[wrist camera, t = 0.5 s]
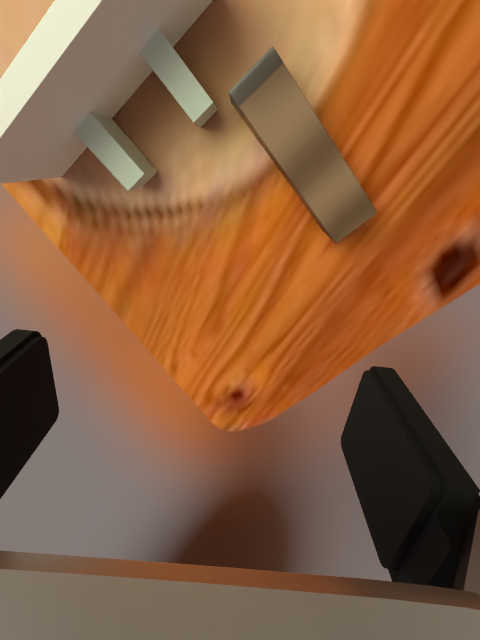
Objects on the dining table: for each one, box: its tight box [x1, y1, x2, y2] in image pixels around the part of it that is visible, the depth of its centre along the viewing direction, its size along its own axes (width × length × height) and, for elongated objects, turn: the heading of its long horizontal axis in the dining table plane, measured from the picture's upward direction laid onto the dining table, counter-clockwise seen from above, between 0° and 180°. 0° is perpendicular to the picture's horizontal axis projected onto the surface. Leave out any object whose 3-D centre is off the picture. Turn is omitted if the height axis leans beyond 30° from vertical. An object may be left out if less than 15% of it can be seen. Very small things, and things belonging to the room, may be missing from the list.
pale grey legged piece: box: [0, 0, 218, 191], centre depth 22 cm, size 20×7×14 cm, turn 130°
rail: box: [229, 46, 377, 243], centre depth 27 cm, size 14×4×5 cm, turn 40°
